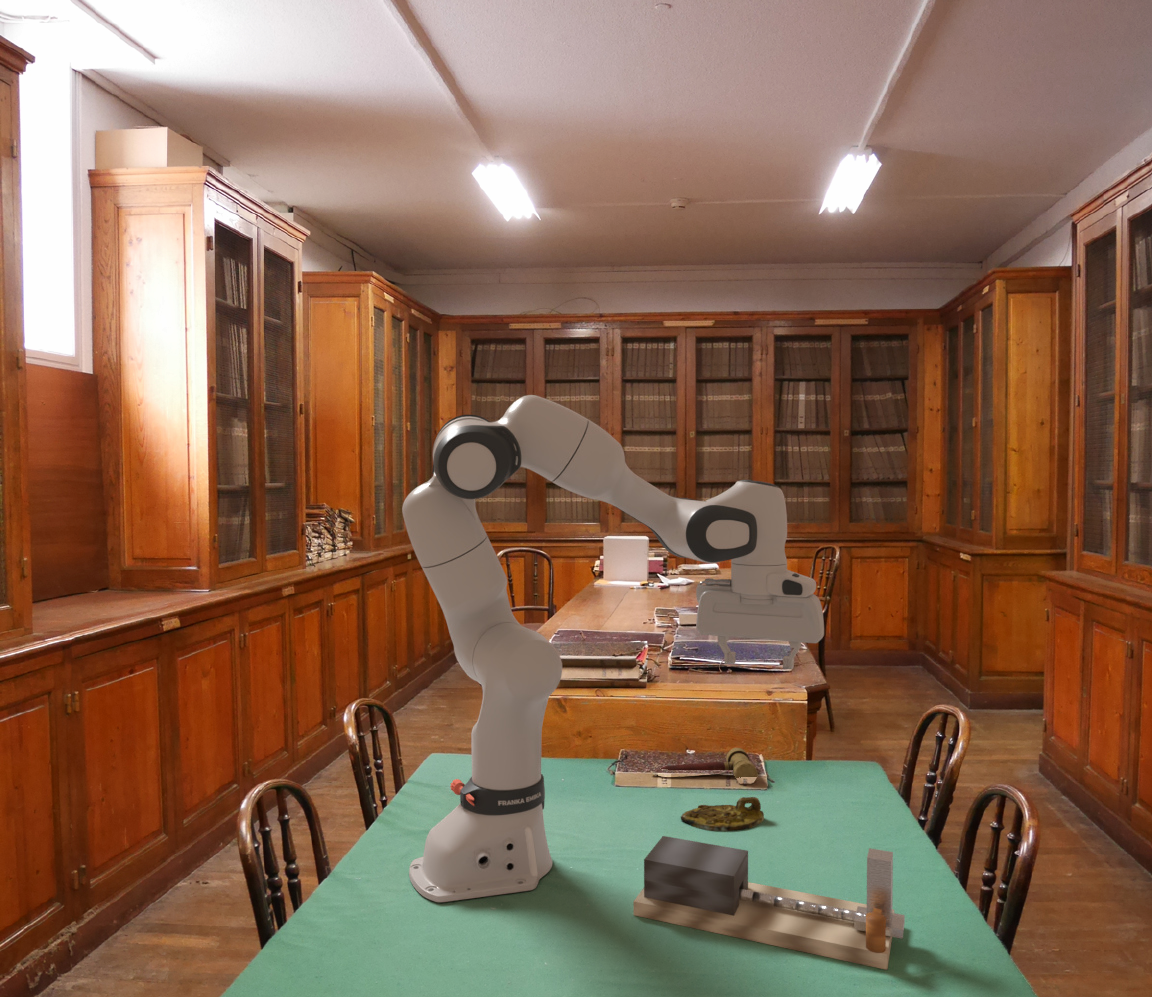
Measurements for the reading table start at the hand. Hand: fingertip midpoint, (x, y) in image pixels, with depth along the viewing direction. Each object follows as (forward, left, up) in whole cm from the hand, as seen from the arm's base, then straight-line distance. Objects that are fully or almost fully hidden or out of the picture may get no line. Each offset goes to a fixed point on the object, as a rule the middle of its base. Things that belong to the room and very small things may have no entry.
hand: (758, 665), depth 142 cm
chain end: (-8, -22, -29) cm, 37 cm away
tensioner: (-12, -17, -31) cm, 37 cm away
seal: (+3, +14, -32) cm, 35 cm away
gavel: (+12, +34, -32) cm, 48 cm away
